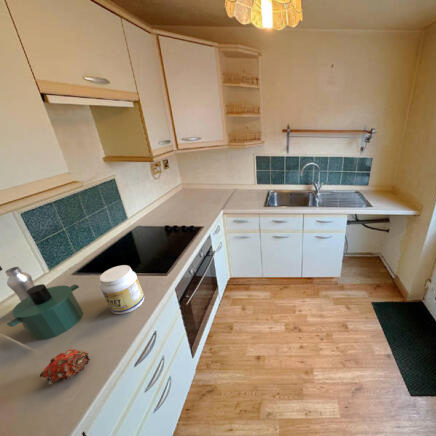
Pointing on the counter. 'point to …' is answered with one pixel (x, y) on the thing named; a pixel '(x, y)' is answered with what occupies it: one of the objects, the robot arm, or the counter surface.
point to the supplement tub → (121, 289)
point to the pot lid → (41, 300)
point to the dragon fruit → (65, 365)
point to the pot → (53, 319)
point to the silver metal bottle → (19, 282)
